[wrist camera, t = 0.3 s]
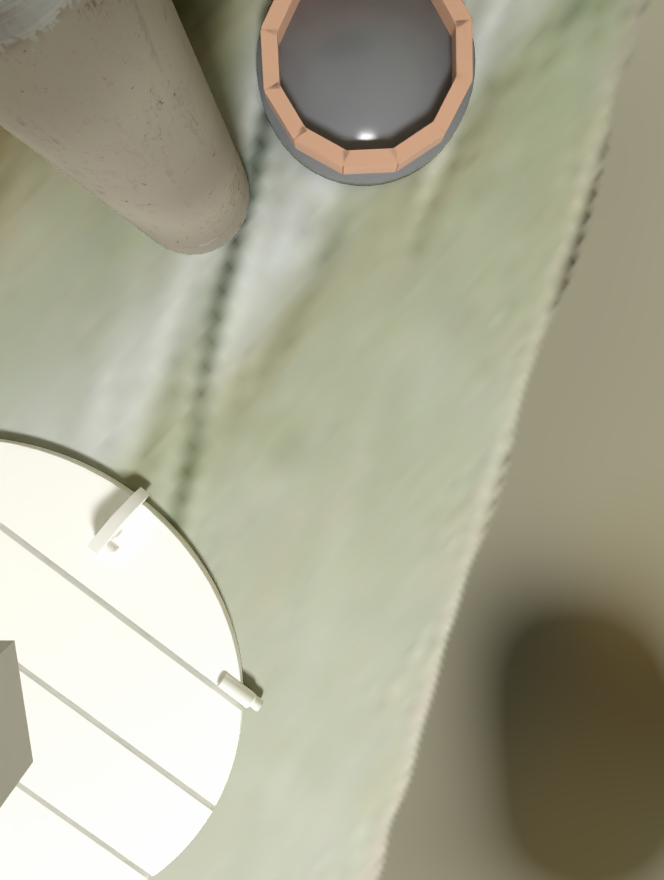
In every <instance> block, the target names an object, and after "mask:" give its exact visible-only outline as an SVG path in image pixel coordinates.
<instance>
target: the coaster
mask: <svg viewBox="0 0 664 880" xmlns="http://www.w3.org/2000/svg"><path fill="white" fill-rule="evenodd" d="M471 19H472V17H471V16H470V14H469V12H468V10H467V8H466V6H465V5H464V3H463V1H462V0H274V1H273V3H272V5H271V7H270V9H269V11H268V13H267V16H266V18H265V20H264V22H263V24H262V27H261V34H260V38H259V44H258V52H257V77H258V85H259V90H260V94H261V98H262V102H263V106H264V109H265V112H266V115H267V117H268V120H269V122H270V124H271V126H272V128H273V130H274V132H275V134H276V135H277V137H278V138H279V140H280V141H281V143H282V144H283V146H284V147H285V148H286V149H287V150H288V151H289V152H290V153H291V155H292V156H293V157H294V158H296V159H297V160H298V161H299V162H300V163H301V164H303V165H304V166H305V167H307V168H308V169H310V170H311V171H313V172H314V173H316V174H318V175H320V176H322V177H325V178H327V179H329V180H332V181H336V182H339V183H342V184H348V185H355V186H372V185H381V184H386V183H389V182H393V181H397V180H399V179H402V178H404V177H406V176H409V175H410V174H412V173H414V172H416V171H417V170H419V169H421V168H422V167H423V166H425V165H426V164H427V163H429V162H430V161H431V160H432V159H433V158H434V157H435V156H436V155H437V154H438V153H439V152H440V151H441V150H442V149H443V148H444V147H445V145H446V144H447V143H448V142H449V140H450V139H451V137H452V136H453V134H454V132H455V131H456V129H457V127H458V126H459V124H460V122H461V120H462V117H463V115H464V113H465V111H466V108H467V106H468V103H469V99H470V96H471V93H472V88H473V82H474V76H475V49H474V42H473V37H472V20H471Z"/></svg>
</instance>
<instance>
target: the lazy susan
mask: <svg viewBox="0 0 664 880" xmlns="http://www.w3.org/2000/svg"><path fill="white" fill-rule="evenodd" d="M149 495H150V494H149V493H148V492H146V491H145V490H144V489H143V488H141V487H140V488H139V489H138V490H137V491H136V492H133V491H132V490H130V489H129V488H127V487H126V486H124V485H123V484H121V483H120V482H118V481H117V480H115V479H113V478H112V477H110V476H108V475H107V474H105V473H103V472H101V471H99V470H97V469H95V468H94V467H92V466H90V465H87V464H85V463H83V462H81V461H79V460H76V459H74V458H71V457H69V456H66V455H64V454H61V453H58V452H55V451H52V450H49V449H46V448H42V447H39V446H35V445H31V444H26V443H22V442H17V441H11V440H5V439H0V640H15V647H16V653H17V660H18V666H19V673H20V679H21V686H22V692H23V699H24V705H25V711H26V718H27V724H28V731H29V737H30V744H31V750H32V757H33V763H32V764H31V766H30V767H29V768H28V770H27V771H26V773H25V774H24V775H23V777H22V778H21V780H20V781H19V782H18V784H17V785H16V787H15V788H14V789H13V791H12V792H11V794H10V795H9V796H8V798H7V799H6V801H5V802H4V803H3V805H2V806H1V808H0V880H149V877H150V875H151V876H154V875H156V874H157V873H158V872H160V871H161V870H162V869H163V868H165V867H166V866H167V865H168V864H169V863H170V862H171V861H173V860H174V859H175V858H176V857H177V856H178V855H179V854H180V853H181V852H182V851H183V850H184V849H185V848H186V846H187V845H188V844H189V843H190V842H191V841H192V840H193V838H194V837H195V836H196V835H197V833H198V832H199V831H200V829H201V828H202V827H203V825H204V824H205V822H206V821H207V819H208V818H209V816H210V814H211V813H212V811H213V808H214V805H215V806H216V804H217V802H218V800H219V798H220V796H221V794H222V792H223V790H224V787H225V785H226V783H227V780H228V777H229V775H230V772H231V769H232V765H233V762H234V758H235V755H236V751H237V747H238V742H239V738H240V732H241V726H242V717H243V706H244V707H246V708H248V707H249V706H250V707H252V708H253V709H254V710H256V711H258V710H259V709H260V707H261V706H262V704H263V700H262V699H260V698H259V697H258V696H256V694H255V693H254V692H253V691H252V690H250V689H249V688H248V687H246V686H245V685H244V684H243V674H242V666H241V659H240V653H239V649H238V644H237V640H236V636H235V633H234V629H233V626H232V623H231V620H230V617H229V614H228V612H227V609H226V607H225V604H224V602H223V600H222V598H221V596H220V593H219V591H218V589H217V587H216V586H215V584H214V582H213V580H212V578H211V576H210V575H209V573H208V571H207V570H206V568H205V567H204V565H203V564H202V562H201V561H200V559H199V558H198V556H197V555H196V553H195V552H194V551H193V549H192V548H191V547H190V546H189V544H188V543H187V542H186V541H185V539H184V538H183V537H182V536H181V535H180V534H179V532H178V531H177V530H176V529H175V528H174V527H173V526H172V525H171V524H170V523H169V522H168V521H167V520H166V519H165V518H164V517H163V516H162V515H161V514H160V513H159V512H158V511H157V510H156V509H154V508H153V507H152V506H151V505H150V504H149V503H147V502H146V501H145V500H146V499H147V497H148V496H149Z"/></svg>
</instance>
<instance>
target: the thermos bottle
mask: <svg viewBox="0 0 664 880" xmlns="http://www.w3.org/2000/svg"><path fill="white" fill-rule="evenodd" d="M0 125H1V126H2V127H4V128H5V129H6V130H8V131H9V132H10V133H12V134H13V135H14V136H16V137H17V138H18V139H20V140H21V141H22V142H24V143H25V144H26V145H28V146H29V147H30V148H32V149H33V150H34V151H36V152H37V153H38V154H40V155H41V156H42V157H44V158H45V159H46V160H48V161H49V162H50V163H52V164H53V165H54V166H55V167H57V168H58V169H59V170H61V171H62V172H63V173H65V174H66V175H67V176H69V177H70V178H71V179H73V180H74V181H75V182H77V183H78V184H79V185H81V186H82V187H83V188H85V189H86V190H87V191H89V192H90V193H91V194H93V195H94V196H95V197H97V198H98V199H99V200H101V201H102V202H103V203H105V204H106V205H107V206H109V207H110V208H111V209H113V210H114V211H115V212H117V213H118V214H119V215H121V216H122V217H123V218H125V219H126V220H127V221H129V222H130V223H131V224H133V225H134V226H135V227H137V228H138V229H139V230H141V231H142V232H143V233H145V234H146V235H147V236H149V237H150V238H151V239H153V240H154V241H155V242H157V243H158V244H160V245H162V246H163V247H165V248H167V249H169V250H172V251H174V252H177V253H182V254H189V255H192V254H203V253H207V252H211V251H213V250H215V249H217V248H219V247H221V246H223V245H224V244H226V243H227V242H228V241H229V240H231V239H232V238H233V236H234V235H235V234H236V233H237V232H238V230H239V229H240V227H241V225H242V223H243V222H244V220H245V217H246V214H247V210H248V206H249V197H250V195H249V183H248V179H247V175H246V171H245V169H244V167H243V164H242V162H241V160H240V157H239V155H238V153H237V151H236V148H235V146H234V144H233V141H232V139H231V137H230V134H229V132H228V130H227V127H226V125H225V123H224V120H223V118H222V116H221V113H220V111H219V109H218V106H217V104H216V102H215V100H214V97H213V95H212V93H211V90H210V88H209V86H208V83H207V81H206V79H205V76H204V74H203V72H202V69H201V67H200V65H199V62H198V60H197V58H196V55H195V53H194V51H193V48H192V46H191V44H190V42H189V39H188V37H187V35H186V32H185V30H184V28H183V25H182V23H181V21H180V18H179V16H178V14H177V11H176V9H175V7H174V4H173V2H172V0H0Z"/></svg>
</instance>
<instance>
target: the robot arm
mask: <svg viewBox="0 0 664 880" xmlns="http://www.w3.org/2000/svg"><path fill="white" fill-rule="evenodd" d="M32 763H33V757H32V750H31V744H30V737H29V731H28V724H27V718H26V711H25V705H24V699H23V692H22V686H21V679H20V673H19V666H18V660H17V653H16V647H15V640H0V808H1V806H2V805H3V803H4V802H5V801H6V799H7V798H8V796H9V795H10V794H11V792H12V791H13V789H14V788H15V787H16V785H17V784H18V782H19V781H20V780H21V778H22V777H23V775H24V774H25V773H26V771H27V770H28V768H29V767H30V766H31V764H32Z"/></svg>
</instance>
